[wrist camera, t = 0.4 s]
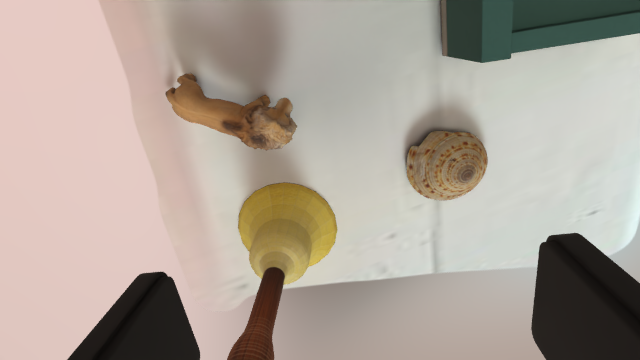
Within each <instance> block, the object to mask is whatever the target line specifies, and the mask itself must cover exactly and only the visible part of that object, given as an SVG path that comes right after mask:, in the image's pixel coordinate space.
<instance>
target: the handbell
mask: <svg viewBox="0 0 640 360" xmlns="http://www.w3.org/2000/svg"><path fill="white" fill-rule="evenodd" d="M238 229H239V232H240V235H241V239H242V242H243V244H244V245H245V246H246V248H247V249H248V251H249V252H250V254H249V260H250V264H251V267H252V269H253V270H254V272H255V273H256V274H257V276H259V277H260V278H261V279H262V281H261V284H260V287H259V290H258V293H257V296H256V299H255V302H254V305H253V308H252V312H251V315H250V318H249V321H248V324H247V326H246V329H245V331H244V333H243V334H242V335H241V336H240V337H239V339H238V340H237V342H236V343H235V344H234V346H233V347H232V349H231V351H230V353H229V356H228V358H227V360H274V351H273V344H272V333H273V328H274V323H275V319H276V315H277V310H278V306H279V301H280V297H281V293H282V288H283V284H289V283H292V282H294V281H297V280H298V279H299V278H300V277H301V276H303V275H304V273H305V271H306V270H307V268H308V267H309V266H312V265H314V264H316V263H318V262H319V261H320V260H321V259H322V258H324V257H325V256H326V255H327V254H328V253H329V251H330V250H331V248H332V246H333V245H334V243H335V239H336V233H337V225H336V220H335V215H334V213H333V211H332V210H331V208H330V206H329V205H328V203H327V202H326V201H325V200H324V199H323V198H322V197H321V196H320V195H318V194H317V193H316V192H315V191H312V190H310V189H308V188H306V187H304V186H302V185H297V184H290V183H279V184H272V185H267V186H265V187H263V188H261V189H259V190H257V191H255V192H254V193H253V194H252V195H251V196H250V197H249V198H248V199H247V200H246V201H245V202H244V204H243V207H242V209H241V211H240V213H239V224H238Z"/></svg>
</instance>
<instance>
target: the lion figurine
mask: <svg viewBox="0 0 640 360" xmlns="http://www.w3.org/2000/svg"><path fill="white" fill-rule="evenodd" d="M177 82H178V83H180V84H181V86H179V87H178V88H177V89H175V88H171V89H169V90H168V91H167V92H166V96H167V99H168V101H169V102H170V103H171V104H172V108H173V110H174V112H175V113H176V114H177V115H178V116H180V117H181V118H183V119H184V120H187V121H189V122H192V123H198V124H202V125H205V126H208V127H210V128H212V129H215V130H217V131H220V132H222V133H226V134H229V135H232V136H237V137H238V138H240V139H241V141H242V142H244V143H245V144H246V145H247V146H249V147H253V148H254V149H256V148H260V149H265V150H268V149H273V148H274V149H277V148H283V145H285V144H287V143H288V142H290V140H292V135H293V134H294V132H295V130H296V128H297V125H296V124H295V122H294V121H293V120H292V118H290V113H291V111H292V109H293V106H292V104H291V102H290V100H289V99H287V98H282V99H280V100H279V101H278V102H277V105H276V106H275V107H273V108H272V107H268V106H269V104H270V101H269V98H268V97H267V96H266V95H264V96H262V97H260V98H258V99H257V100H256V101H253V102H251V103H249V104H247V105H245V106H241V105H239V104H237V103H233V102H229V101H225V100H220V99H209V98H206V97H205V96H204V94H203V91H202V89H201V87H200V86H199V85H198V84H197V83H196V78H195V76H194V75H193V74H185V75H182V76H180V77H179V78H178V80H177Z"/></svg>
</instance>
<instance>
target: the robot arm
mask: <svg viewBox="0 0 640 360" xmlns="http://www.w3.org/2000/svg"><path fill="white" fill-rule="evenodd" d="M532 335H533V338H534V341H535V343H536V344H537V346H538V347H539V349H540V351H541V352H542V354H543V355H544V357H545V358H546V360H640V283H639V282H637V281H636V280H635V279H634V278H633V277H631V276H630V275H629V274H628V273H627V272H625V271H624V270H623V269H622V268H621V267H619V266H618V265H617V264H616V263H614V262H613V261H612V260H611V259H610V258H608V257H607V256H606V255H605V254H604V253H602V252H601V251H600V250H599V249H598V248H596V247H595V246H594V245H593V244H591V243H590V242H589V241H588V240H587V239H585V238H584V237H583V236H582V235H580V234H578V233H571V234H560V235H551V236H549V237H548V238H547V241H546V242H543V243H541V245H540V248H539V258H538V268H537V278H536V288H535V297H534V307H533V317H532ZM68 360H200V351H199V347H198V345H197V342H196V339H195V337H194V334H193V331H192V328H191V326H190V324H189V320H188V318H187V315H186V313H185V310H184V307H183V304H182V302H181V299H180V296H179V294H178V291H177V288H176V285H175V283H174V280H173V279H172V278H171V277H168V276H167V275H166V273H164V272H153V273H143V274H140V275H139V276H137V278H136V279H135V280H134V281H133V282H132V283H131V285H130V286H129V287H128V288H127V290H126V291H125V292H124V293H123V294H122V295H121V297H120V298H119V299H118V300H117V301H116V303H115V304H114V305H113V306H112V307H111V308H110V310H109V311H108V312H107V313H106V314H105V315H104V317H103V318H102V319H101V320H100V321H99V323H98V324H97V325H96V326H95V327H94V329H93V330H92V331H91V332H90V333H89V334H88V336H87V337H86V338H85V339H84V340H83V342H82V343H81V344H80V345H79V346H78V348H77V349H76V350H75V351H74V352H73V353H72V355H71V356H70V357H69V358H68Z"/></svg>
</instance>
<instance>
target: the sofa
mask: <svg viewBox="0 0 640 360" xmlns="http://www.w3.org/2000/svg"><path fill="white" fill-rule="evenodd" d="M441 16H442V54H443V56H448V57H454V58H459V59H464V60H470V61H475V62H480V63H485V62H491V61H498V60H504V59H510V58H511V53H517V52H523V51H529V50H536V49H542V48H548V47H555V46H561V45H568V44H574V43H580V42H587V41H593V40H599V39H606V38H612V37H618V36H625V35H631V34H637V33H640V0H441Z"/></svg>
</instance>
